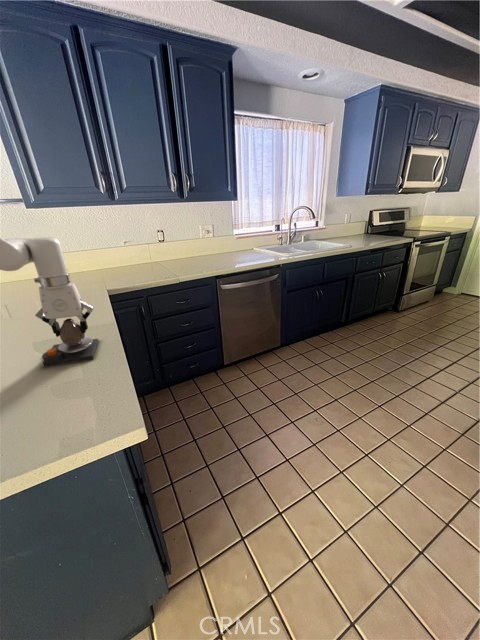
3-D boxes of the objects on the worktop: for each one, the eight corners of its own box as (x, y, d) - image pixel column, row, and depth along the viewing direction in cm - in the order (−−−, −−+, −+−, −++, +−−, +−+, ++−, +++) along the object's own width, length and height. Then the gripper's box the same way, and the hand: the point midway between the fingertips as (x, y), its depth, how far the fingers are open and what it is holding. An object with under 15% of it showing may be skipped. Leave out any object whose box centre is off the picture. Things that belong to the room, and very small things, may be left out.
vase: (61, 350, 84) (53, 326, 81) (64, 341, 90) (57, 317, 86) (86, 346, 87) (79, 322, 83) (87, 336, 93) (81, 314, 89)
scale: (42, 367, 82) (39, 359, 81) (54, 348, 93) (51, 340, 92) (93, 359, 86) (91, 351, 85) (98, 341, 97) (96, 334, 96)
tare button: (46, 357, 83) (45, 353, 82) (49, 353, 85) (47, 348, 84) (56, 355, 84) (54, 351, 83) (58, 351, 86) (57, 347, 85)
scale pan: (54, 355, 83) (54, 353, 83) (63, 340, 92) (62, 339, 91) (89, 349, 86) (89, 348, 86) (94, 336, 95) (94, 334, 94)
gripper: (16, 287, 74) (37, 342, 81) (85, 281, 79) (99, 334, 86) (26, 279, 80) (45, 332, 88) (90, 274, 85) (102, 324, 93)
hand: (72, 332), depth 87 cm, fingers closed on vase, 6 cm apart
